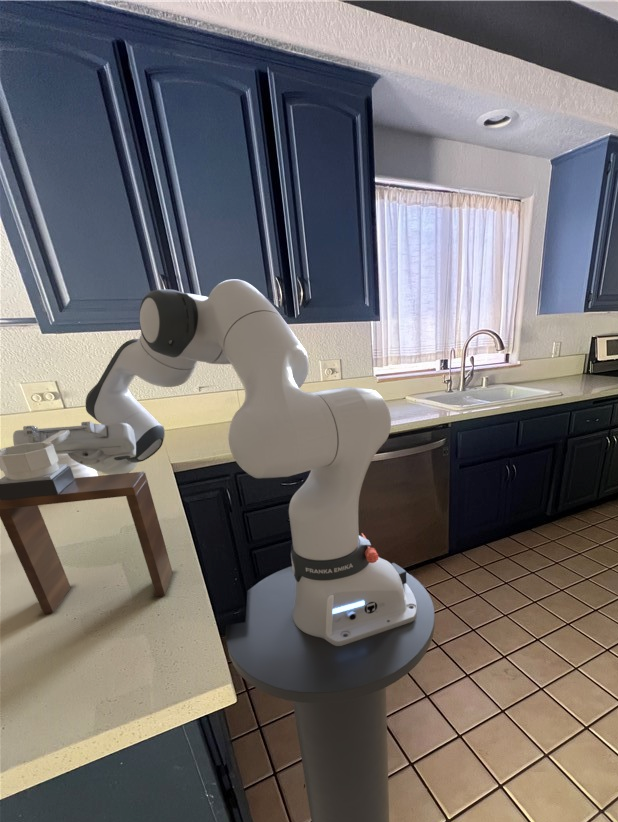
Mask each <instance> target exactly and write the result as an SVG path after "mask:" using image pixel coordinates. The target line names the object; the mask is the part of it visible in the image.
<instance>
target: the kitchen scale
mask: <svg viewBox="0 0 618 822" xmlns="http://www.w3.org/2000/svg"><path fill="white" fill-rule="evenodd" d="M74 480H75V479H74V476H73V473H72V470H71V468H70V466H68V467H67V464H63V465H59V469H58V470H57V471H55V472H53V473H51V474H48V475H44V476H41V477H36V478H31V479H23V480H10V479H7V478H6V476H5V475H3V476H2V477H1V478H0V500H8V499H18V498H28V497H38V496H48V495H58V494H59V493H60V492H61V491H62V490H64V489H65V488H66V487H67V486H68V485H69V484H70V483H71V482H73V481H74Z"/></svg>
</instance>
